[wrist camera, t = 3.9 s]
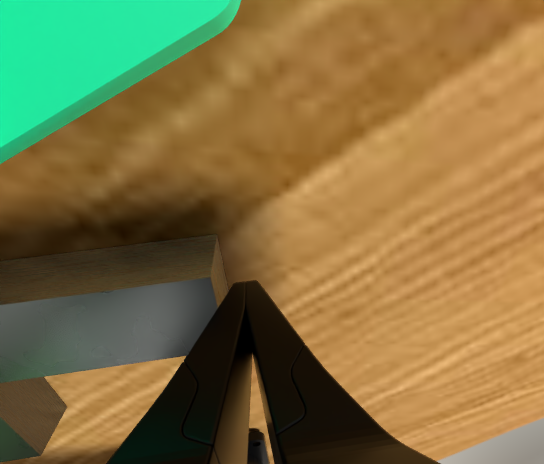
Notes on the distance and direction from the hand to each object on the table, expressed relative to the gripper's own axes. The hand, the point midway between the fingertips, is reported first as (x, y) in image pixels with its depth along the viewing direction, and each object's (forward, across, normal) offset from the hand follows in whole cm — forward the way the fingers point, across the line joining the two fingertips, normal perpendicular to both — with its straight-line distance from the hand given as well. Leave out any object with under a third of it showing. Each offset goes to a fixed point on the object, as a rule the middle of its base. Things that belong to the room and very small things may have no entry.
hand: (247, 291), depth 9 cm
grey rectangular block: (+2, +5, 0) cm, 5 cm away
